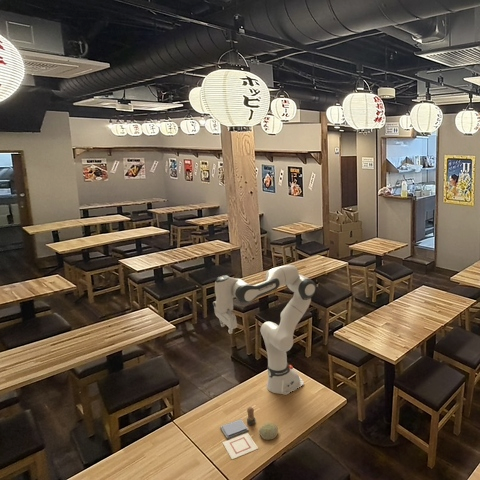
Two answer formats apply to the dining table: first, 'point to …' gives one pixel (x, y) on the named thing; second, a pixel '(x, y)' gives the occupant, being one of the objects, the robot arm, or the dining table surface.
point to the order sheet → (240, 445)
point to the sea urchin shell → (268, 431)
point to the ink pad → (234, 429)
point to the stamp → (250, 416)
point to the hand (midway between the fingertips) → (226, 329)
